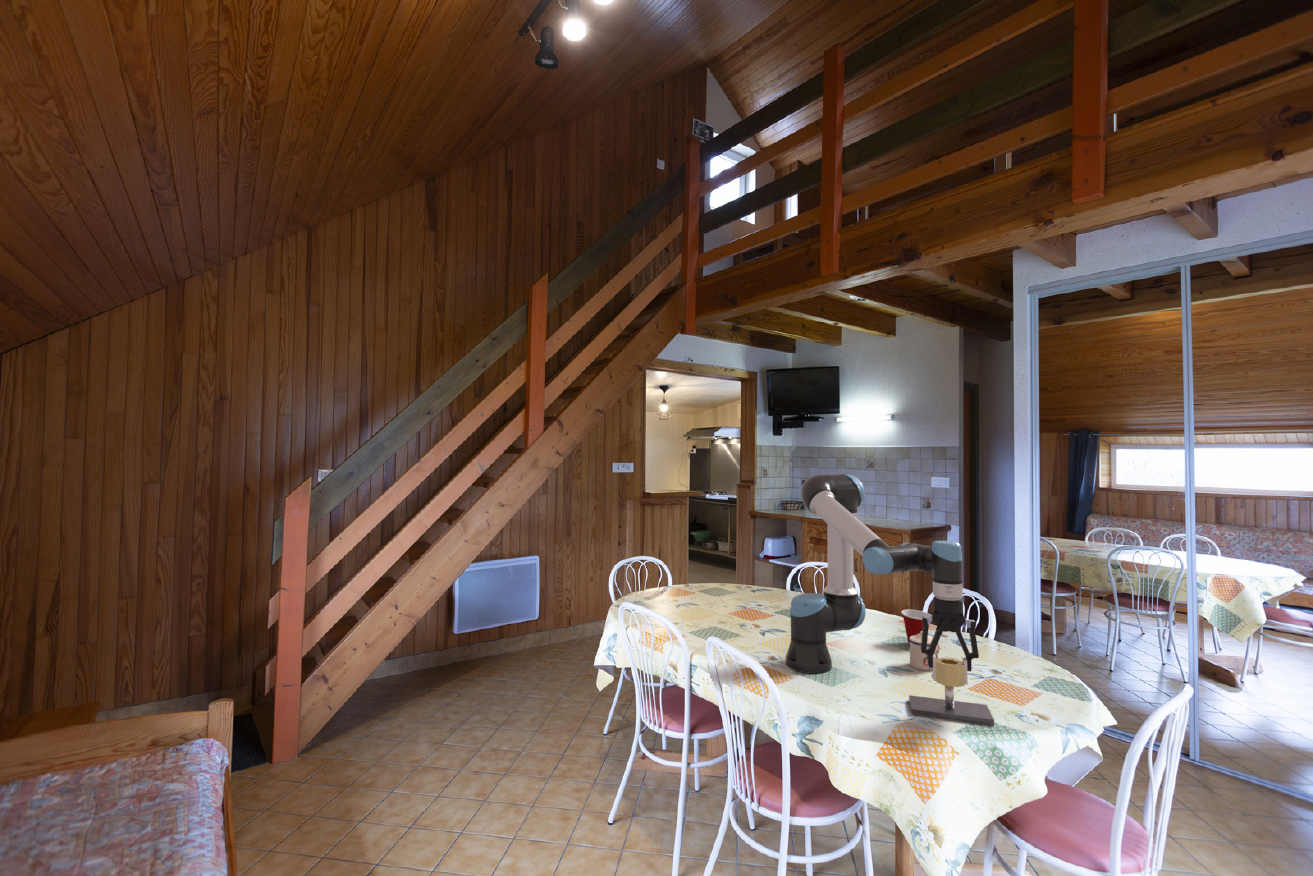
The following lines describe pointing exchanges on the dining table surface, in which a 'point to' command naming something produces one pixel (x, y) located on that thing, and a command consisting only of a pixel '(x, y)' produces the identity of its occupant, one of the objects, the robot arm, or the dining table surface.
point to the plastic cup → (913, 622)
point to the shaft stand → (950, 708)
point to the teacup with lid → (916, 656)
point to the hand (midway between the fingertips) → (949, 680)
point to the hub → (950, 672)
